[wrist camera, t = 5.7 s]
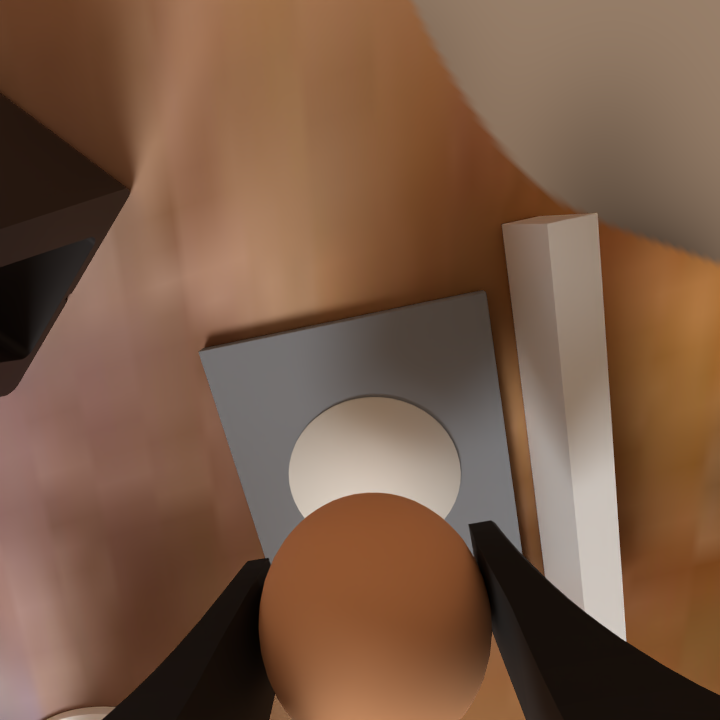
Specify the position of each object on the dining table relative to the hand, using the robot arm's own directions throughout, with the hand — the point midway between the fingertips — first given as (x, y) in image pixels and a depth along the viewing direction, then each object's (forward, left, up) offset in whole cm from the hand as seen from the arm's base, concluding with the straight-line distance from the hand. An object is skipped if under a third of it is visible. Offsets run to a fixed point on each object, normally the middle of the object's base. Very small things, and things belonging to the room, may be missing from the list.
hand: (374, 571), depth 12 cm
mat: (0, 0, -5) cm, 5 cm away
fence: (-7, 0, -5) cm, 8 cm away
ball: (0, 0, +1) cm, 1 cm away
